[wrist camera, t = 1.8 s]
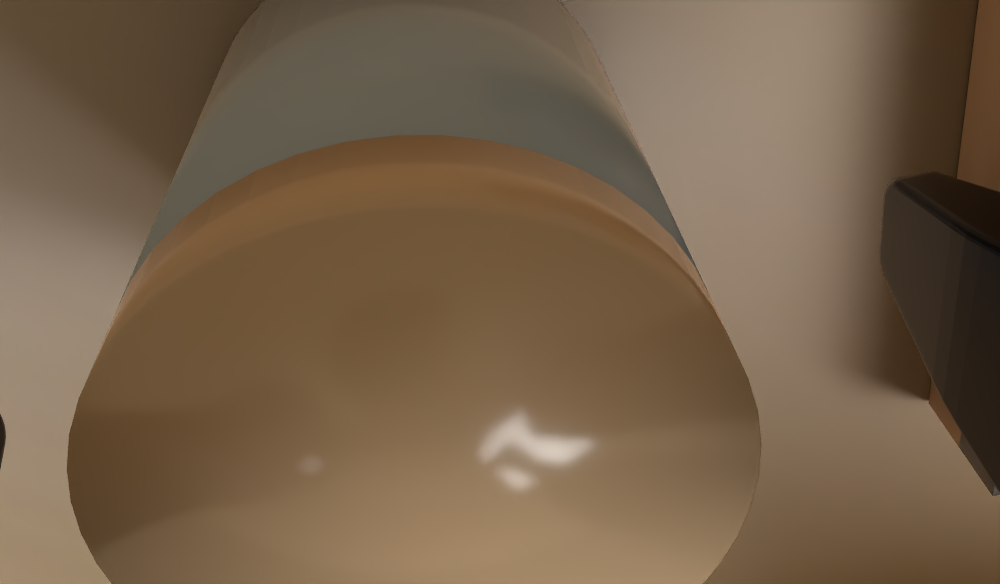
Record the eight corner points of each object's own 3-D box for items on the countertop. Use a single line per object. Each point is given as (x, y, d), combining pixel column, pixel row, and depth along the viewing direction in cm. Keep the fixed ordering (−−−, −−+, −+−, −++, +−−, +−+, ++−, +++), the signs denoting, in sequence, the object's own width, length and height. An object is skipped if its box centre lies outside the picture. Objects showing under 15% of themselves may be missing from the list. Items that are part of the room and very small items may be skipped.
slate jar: (630, 273, 13) (763, 647, 8) (280, 338, 13) (209, 743, 8) (591, -98, 10) (757, 135, 6) (148, -12, 11) (-74, 292, 6)
